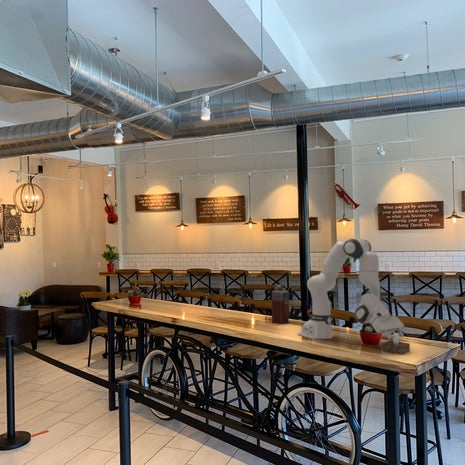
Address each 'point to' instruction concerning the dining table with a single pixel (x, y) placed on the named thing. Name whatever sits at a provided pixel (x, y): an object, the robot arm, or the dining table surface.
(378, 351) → the dining table surface
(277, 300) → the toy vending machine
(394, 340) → the peg
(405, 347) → the socket block
